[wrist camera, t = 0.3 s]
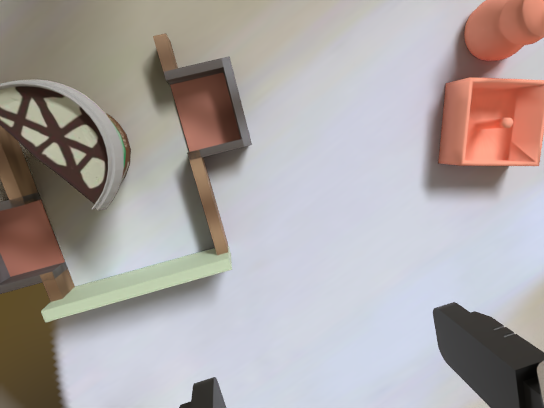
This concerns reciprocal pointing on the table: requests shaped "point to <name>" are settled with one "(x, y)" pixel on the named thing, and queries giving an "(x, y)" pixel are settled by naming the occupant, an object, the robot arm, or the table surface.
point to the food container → (67, 135)
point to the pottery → (496, 93)
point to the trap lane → (71, 300)
